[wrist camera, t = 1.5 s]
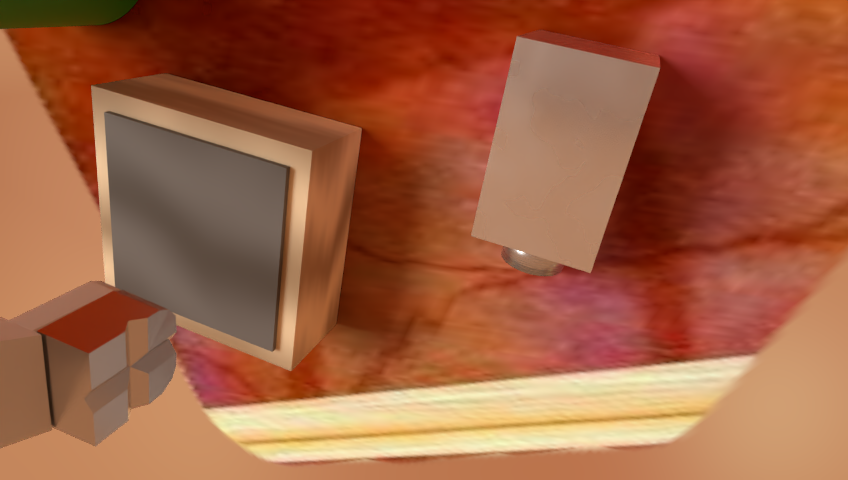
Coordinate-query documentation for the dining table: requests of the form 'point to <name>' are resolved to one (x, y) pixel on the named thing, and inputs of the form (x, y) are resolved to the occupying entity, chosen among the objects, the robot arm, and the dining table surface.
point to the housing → (561, 149)
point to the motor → (61, 12)
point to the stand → (225, 210)
